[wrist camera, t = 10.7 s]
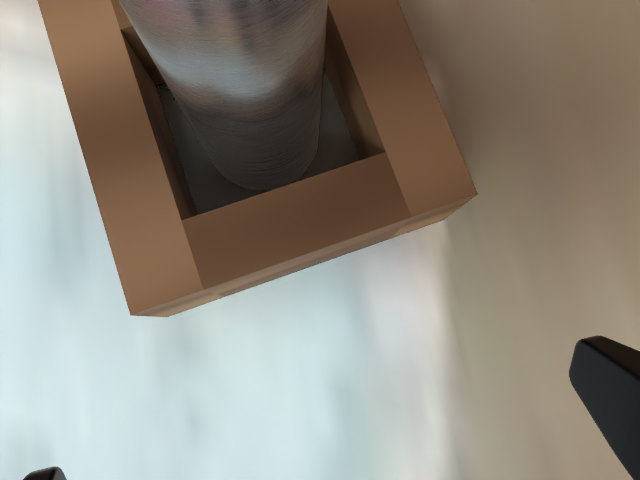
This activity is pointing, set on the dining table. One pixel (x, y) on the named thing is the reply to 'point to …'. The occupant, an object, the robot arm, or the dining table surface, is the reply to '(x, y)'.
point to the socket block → (270, 207)
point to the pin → (242, 79)
